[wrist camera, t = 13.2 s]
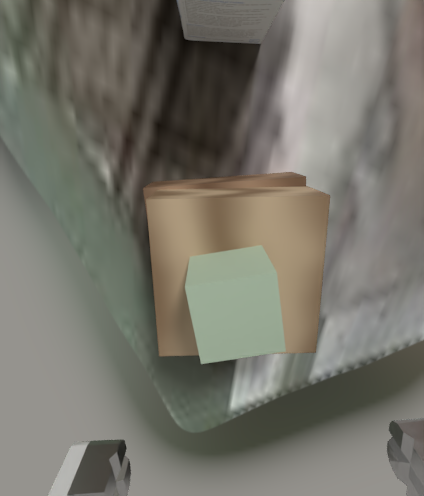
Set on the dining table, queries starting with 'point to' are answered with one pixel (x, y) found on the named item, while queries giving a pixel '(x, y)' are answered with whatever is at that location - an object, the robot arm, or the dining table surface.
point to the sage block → (234, 304)
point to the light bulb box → (227, 19)
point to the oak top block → (236, 237)
